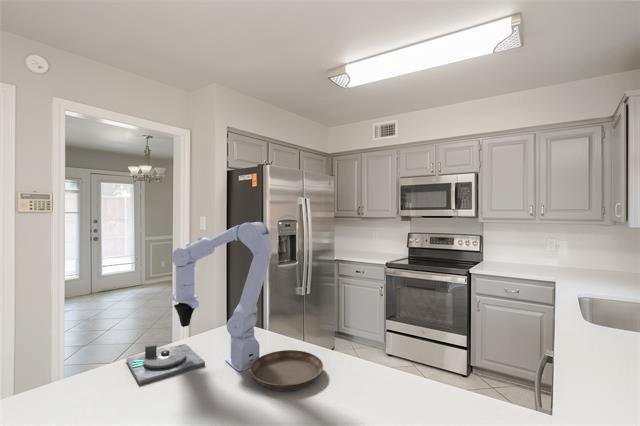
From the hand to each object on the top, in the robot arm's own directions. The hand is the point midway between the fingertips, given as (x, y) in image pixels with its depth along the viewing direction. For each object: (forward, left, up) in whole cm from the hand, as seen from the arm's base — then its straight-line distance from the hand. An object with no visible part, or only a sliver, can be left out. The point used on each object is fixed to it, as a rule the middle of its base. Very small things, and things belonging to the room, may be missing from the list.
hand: (185, 325), depth 109 cm
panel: (-2, +7, -10) cm, 12 cm away
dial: (-2, +7, -8) cm, 11 cm away
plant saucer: (-32, -18, -10) cm, 38 cm away
